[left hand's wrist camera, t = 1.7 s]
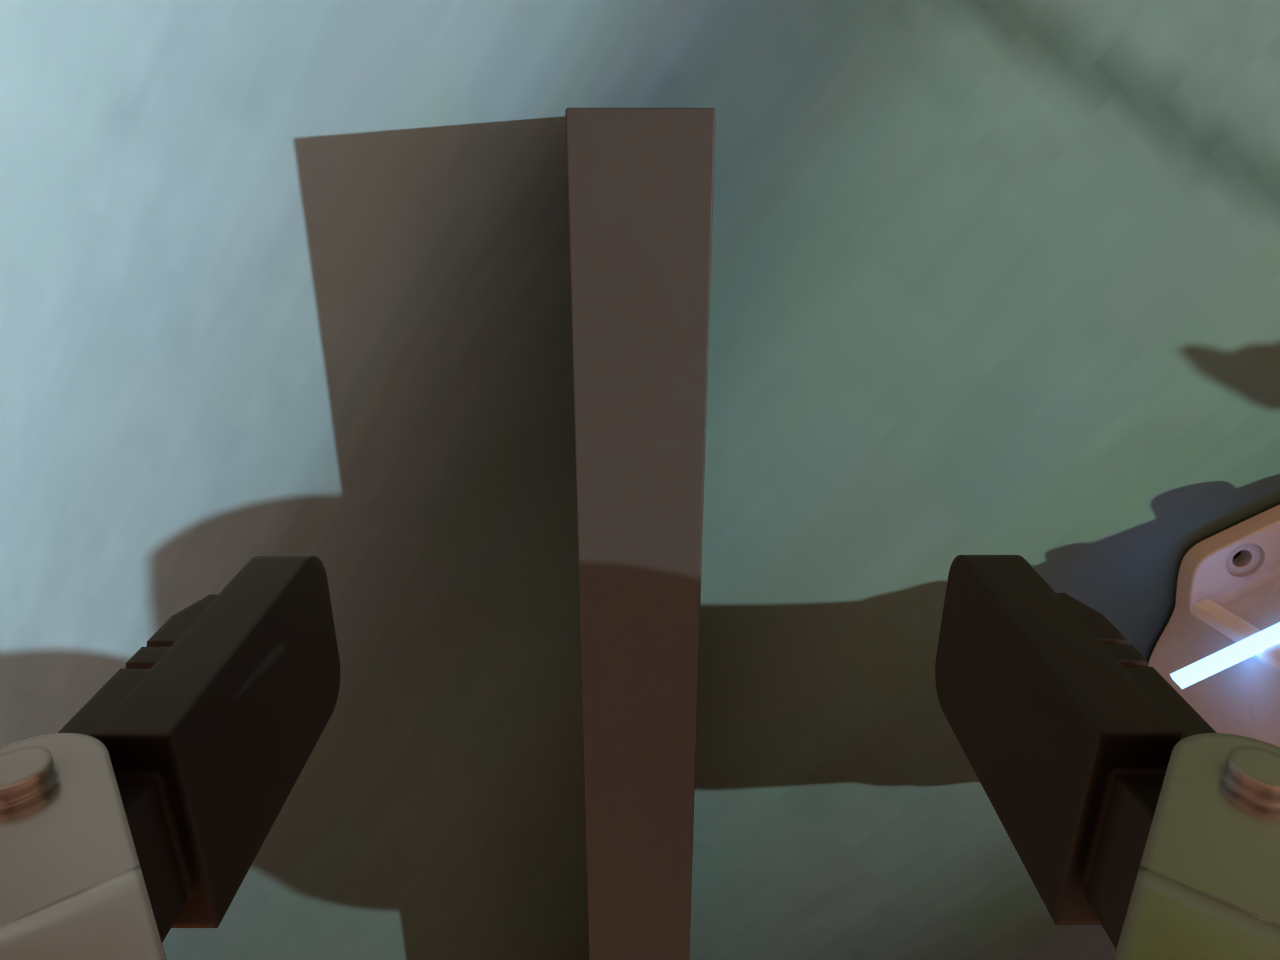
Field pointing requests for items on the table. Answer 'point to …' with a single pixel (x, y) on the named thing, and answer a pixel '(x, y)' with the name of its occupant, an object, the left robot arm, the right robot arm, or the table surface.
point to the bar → (640, 505)
